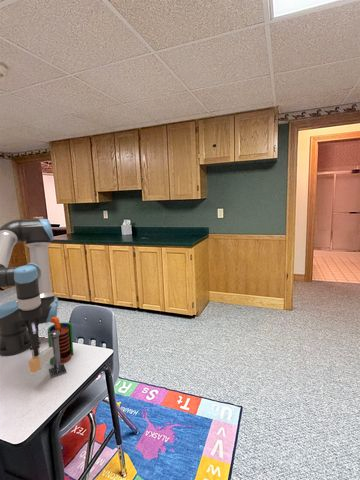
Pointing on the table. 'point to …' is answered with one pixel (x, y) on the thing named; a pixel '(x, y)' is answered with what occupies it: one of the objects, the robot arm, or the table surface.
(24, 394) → the table surface
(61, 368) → the post
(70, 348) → the motor
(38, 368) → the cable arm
